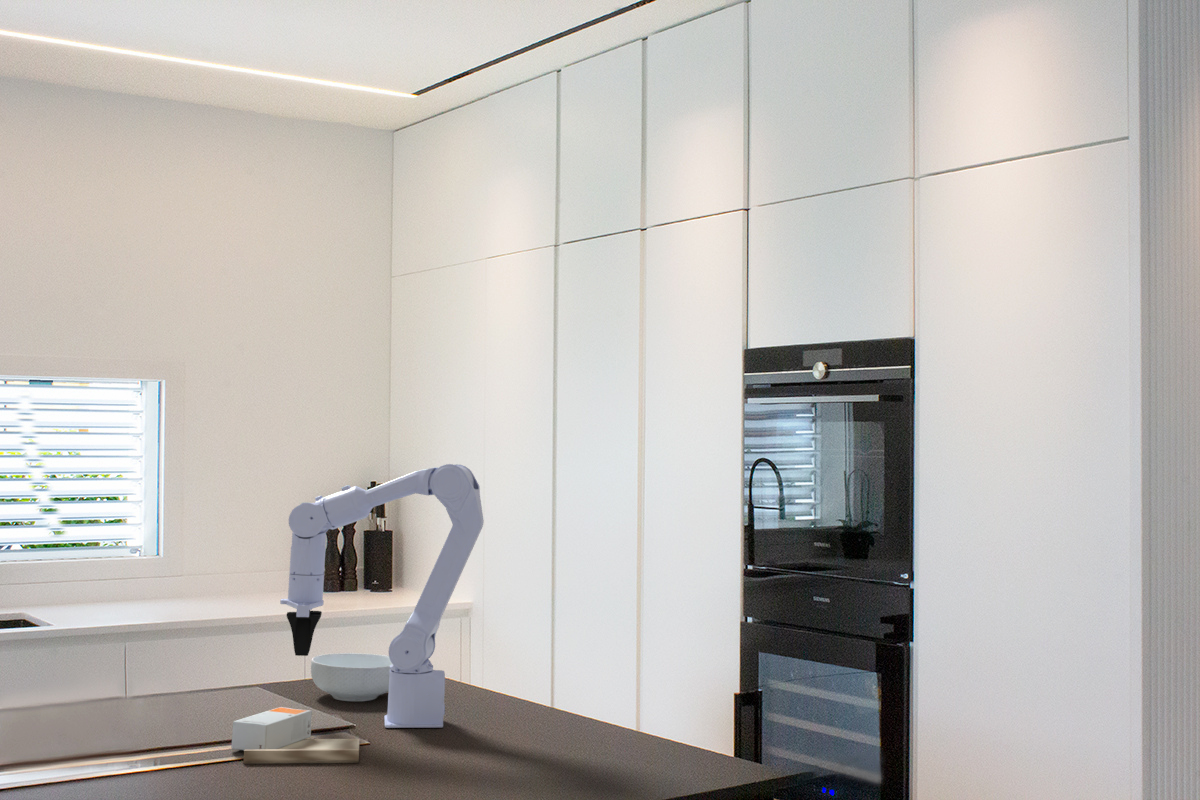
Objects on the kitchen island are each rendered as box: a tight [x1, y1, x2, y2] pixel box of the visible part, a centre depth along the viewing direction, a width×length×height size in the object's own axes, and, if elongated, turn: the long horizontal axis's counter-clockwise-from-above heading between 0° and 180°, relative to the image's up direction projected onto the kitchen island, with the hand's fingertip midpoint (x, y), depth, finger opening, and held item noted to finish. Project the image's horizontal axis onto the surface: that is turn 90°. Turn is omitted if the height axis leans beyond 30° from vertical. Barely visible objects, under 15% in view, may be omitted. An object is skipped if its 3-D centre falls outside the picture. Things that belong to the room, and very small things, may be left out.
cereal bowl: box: [310, 652, 393, 702], centre depth 213 cm, size 17×17×7 cm
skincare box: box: [230, 706, 313, 752], centre depth 175 cm, size 6×4×12 cm
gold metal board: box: [242, 738, 360, 765], centre depth 172 cm, size 16×13×2 cm
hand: (301, 655), depth 195 cm, fingers closed
